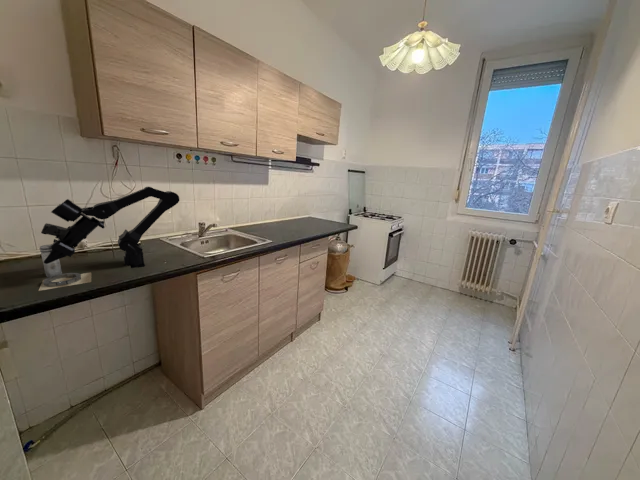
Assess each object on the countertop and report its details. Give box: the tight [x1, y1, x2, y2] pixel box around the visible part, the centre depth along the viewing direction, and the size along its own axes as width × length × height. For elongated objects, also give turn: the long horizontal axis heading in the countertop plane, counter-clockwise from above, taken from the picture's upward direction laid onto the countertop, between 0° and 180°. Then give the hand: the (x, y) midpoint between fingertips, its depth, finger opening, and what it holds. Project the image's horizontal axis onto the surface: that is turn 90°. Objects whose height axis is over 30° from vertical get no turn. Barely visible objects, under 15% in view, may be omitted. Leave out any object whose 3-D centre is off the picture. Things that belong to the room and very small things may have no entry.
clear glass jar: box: [39, 243, 63, 278], centre depth 94 cm, size 4×4×12 cm
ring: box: [42, 272, 82, 287], centre depth 91 cm, size 9×9×1 cm
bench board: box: [38, 272, 92, 292], centre depth 91 cm, size 13×11×1 cm
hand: (45, 261), depth 93 cm, fingers closed on clear glass jar, 4 cm apart
